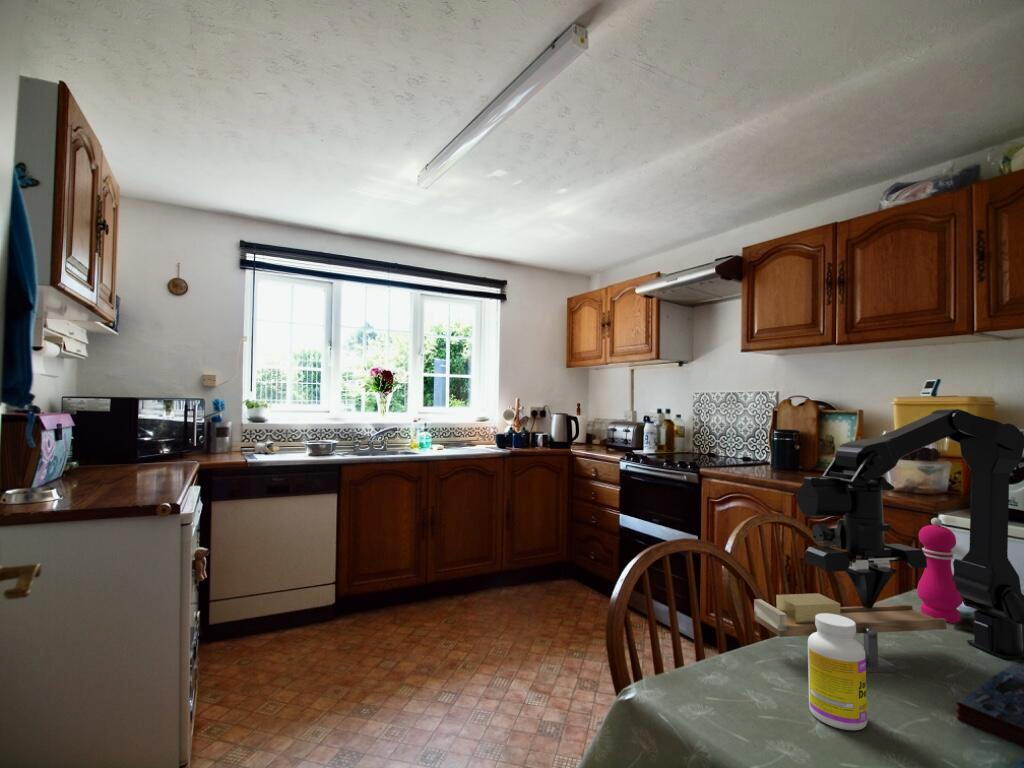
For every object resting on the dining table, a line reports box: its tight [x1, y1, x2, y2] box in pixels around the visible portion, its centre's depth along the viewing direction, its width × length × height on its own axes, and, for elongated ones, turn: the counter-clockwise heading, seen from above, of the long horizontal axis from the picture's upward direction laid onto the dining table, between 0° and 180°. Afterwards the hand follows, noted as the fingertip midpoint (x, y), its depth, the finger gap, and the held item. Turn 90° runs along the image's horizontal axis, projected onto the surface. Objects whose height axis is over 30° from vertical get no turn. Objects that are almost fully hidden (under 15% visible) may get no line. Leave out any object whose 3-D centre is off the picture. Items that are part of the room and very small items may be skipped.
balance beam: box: [753, 598, 948, 638], centre depth 88 cm, size 30×7×4 cm, turn 97°
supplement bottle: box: [807, 613, 868, 731], centre depth 70 cm, size 7×7×13 cm
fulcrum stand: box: [862, 627, 897, 674], centre depth 88 cm, size 6×12×6 cm, turn 7°
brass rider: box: [775, 593, 841, 625], centre depth 88 cm, size 8×5×4 cm, turn 97°
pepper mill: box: [916, 517, 963, 624], centre depth 106 cm, size 7×7×20 cm
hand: (867, 607), depth 89 cm, fingers closed
